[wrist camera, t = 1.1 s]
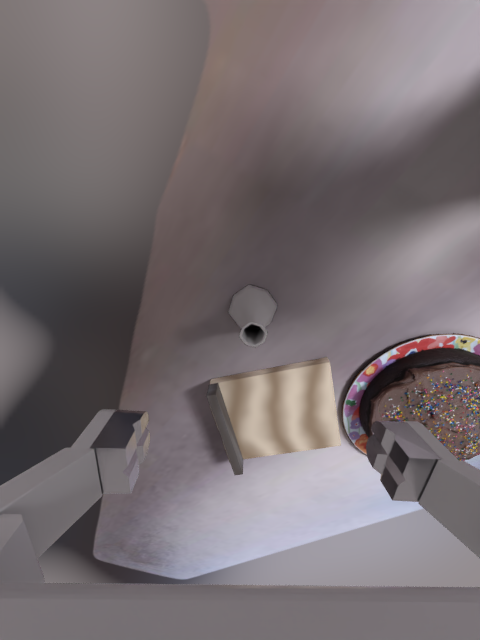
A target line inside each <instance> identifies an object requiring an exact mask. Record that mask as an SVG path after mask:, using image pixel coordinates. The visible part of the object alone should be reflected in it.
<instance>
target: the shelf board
mask: <svg viewBox="0 0 480 640" xmlns="http://www.w3.org/2000/svg"><path fill="white" fill-rule="evenodd" d="M207 399H208V402H209V405H210V409H211V412H212V415H213V417H214V420H215V423H216V426H217V429H218V430H219V432H220V435H221V438H222V441H223V445H224V448H225V451H226V454H227V456H228V459H229V462H230V463H231V466H232V469H233V472H234V474H235V475H240V474H243V459H249V458H256V457H263V456H270V455H277V454H284V453H291V452H298V451H305V450H312V449H319V448H326V447H333V446H341V442H340V434H339V427H338V419H337V412H336V404H335V397H334V389H333V382H332V375H331V367H330V362H329V360H328V358H327V357H326V358H321V359H315V360H310V361H305V362H300V363H294V364H289V365H284V366H278V367H273V368H268V369H262V370H257V371H252V372H246V373H241V374H236V375H230V376H225V377H220V378H214V379H211V381H210V384H209V388H208V392H207Z"/></svg>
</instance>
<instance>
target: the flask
mask: <svg viewBox="0 0 480 640" xmlns="http://www.w3.org/2000/svg"><path fill="white" fill-rule="evenodd" d="M277 306H278V305H277V303H276V302H275V301H274V299H273V298H272V296H271V295H270V293H269V292H268V291H267V290H265V289H262V288H259V287H255V286H252V285H247V286H246V287H244V288H243V289H242V290H240V291H239V292H237V293H236V294H235V295H233V298H232V302H231V305H230V308H229V312H228V313H229V314H230V316H231V317H232V318H233V319H234V321H235V322H236V323H237V324H238V326H239V327H240V328H241V331H240V334H239V338H240V339H241V340H242V342H243V343H244V344H245V345H247V346H250V347H254V348H256V347H258V346H259V345H261V344H262V343H264V342H265V339H266V336H267V334H268V332H267V330H266V329H265V327H266V326H267V325H268V324H270V323H271V322H272V319H273V316H274V314H275V311H276V308H277Z"/></svg>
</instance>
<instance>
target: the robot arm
mask: <svg viewBox="0 0 480 640" xmlns="http://www.w3.org/2000/svg"><path fill="white" fill-rule="evenodd" d="M148 421H149V419H148V413H147V412H145V411H129V410H108V409H102V410H101V411H99V412H98V413H97V414H96V416H95V417H94V418H93V420H92V421H91V422H90V423H89V425H88V426H87V427H86V428H85V430H84V431H83V432H82V434H81V435H80V436H79V437H78V439H77V440H76V441H75V443H74V444H73V445H72V447H71V448H64V449H63V450H61V451H59V452H57V453H56V454H54V455H52V456H50V457H49V458H47V459H45V460H44V461H42V462H40V463H39V464H37V465H35V466H33V467H32V468H30V469H29V470H27V471H25V472H23V473H21V474H20V475H18V476H16V477H15V478H13V479H11V480H10V481H8V482H6V483H4V484H3V485H1V486H0V640H480V587H402V586H401V587H400V586H395V587H394V586H309V585H306V586H305V585H200V584H97V583H95V584H94V583H44V575H43V573H42V570H41V567H40V564H39V561H38V559H37V558H38V557H39V556H40V555H41V554H43V553H44V552H45V551H46V550H47V549H48V548H49V547H50V546H51V545H52V544H53V543H54V542H55V541H56V540H57V539H58V538H59V537H60V536H61V535H62V534H63V533H64V532H65V531H66V530H67V529H68V528H69V527H70V526H71V525H72V524H74V522H75V521H77V519H79V518H80V517H81V516H82V515H83V514H84V513H85V512H86V511H87V510H88V509H89V508H90V507H91V506H92V505H93V504H94V503H95V502H96V501H97V500H98V499H99V498H100V497H101V496H102V494H131V492H132V489H133V487H134V485H135V482H136V480H137V477H138V475H139V466H138V465H140V464H141V463H142V462H143V461H144V460H145V457H146V455H147V452H148V447H149V442H150V431H149V430H148V429H147V428H146V426H147V424H148ZM371 430H372V432H373V435H372V436H371V437H369V438H368V440H367V444H366V452H367V457H368V459H369V462H370V463H371V465H372V467H373V468H374V469H375V470H376V471H378V472H379V473H380V474H381V479H380V480H381V482H382V484H383V485H384V487H385V489H386V490H387V492H388V494H389V495H390V497H391V499H392V500H396V501H413V502H419V504H420V505H421V506H422V507H423V508H424V509H425V510H426V511H428V512H429V513H430V514H431V515H432V516H433V517H434V518H436V519H437V520H438V521H439V522H440V523H441V524H442V525H443V526H444V527H445V528H447V529H448V530H449V531H450V532H451V533H452V534H453V535H454V536H456V537H457V538H458V539H459V540H460V541H461V542H462V543H463V544H464V545H465V546H467V547H468V548H469V549H470V550H471V551H472V552H473V553H474V554H476V555H477V556H478V557H479V558H480V470H479V469H477V468H475V467H473V466H472V465H470V464H468V463H466V462H465V461H459V460H458V459H457V458H456V457H455V456H454V455H453V454H452V453H451V452H450V451H449V450H448V449H447V448H446V447H445V446H444V445H443V444H442V443H441V442H440V441H439V440H438V439H437V438H436V437H435V436H434V435H433V434H432V433H431V432H430V431H429V430H428V429H427V428H426V427H425V426H424V425H423V424H421V423H419V422H415V421H403V422H401V421H375V422H374V423H373V424H372V427H371Z"/></svg>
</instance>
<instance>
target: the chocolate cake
mask: <svg viewBox="0 0 480 640" xmlns="http://www.w3.org/2000/svg"><path fill="white" fill-rule="evenodd" d="M342 420H343V426H344V428H345V431H346V433H347V435H348V437H349V438H350V441H351V442H352V443H353V444H354V446H356V448H358V449H359V450H360V451H362V452H363V453H364V454H366V455H367V452H366V444H367V440H368V438H369V437H371V436H372V435H373V432H372V430H371V427H372V424H373V423H374V422H375V421H401V422H403V421H415V422H419V423H421V424H423V425H424V426H425V427H426V428H427V429H428V430H429V431H430V432H431V433H432V434H433V435H434V436H435V437H436V438H437V439H438V440H439V441H440V442H441V443H442V444H443V445H444V446H445V447H446V448H447V449H448V450H449V451H450V452H451V453H452V454H453V455H454V456H455V457H456V458H457V459H458V460H459V461H464V460H468V459H471V458H473V457H474V456H477V455H479V454H480V338H475V337H474V336H468V335H463V334H454V333H453V334H436V335H428V336H425V337H422V338H417V339H415V340H411V341H408V342H402V343H399V344H398V345H396V346H395V347H393V348H392V349H390V350H389V351H387V352H386V353H384V354H383V355H381V356H380V357H378V358H377V359H375V360H374V361H372V362H371V363H369V364H368V365H367V367H365V369H363V370H360V372H359V373H358V374H357V375H356V376H355V378H354V379H353V382H352V384H351V386H350V387H349V389H348V392H347V396H346V398H345V400H344V402H343V407H342Z"/></svg>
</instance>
